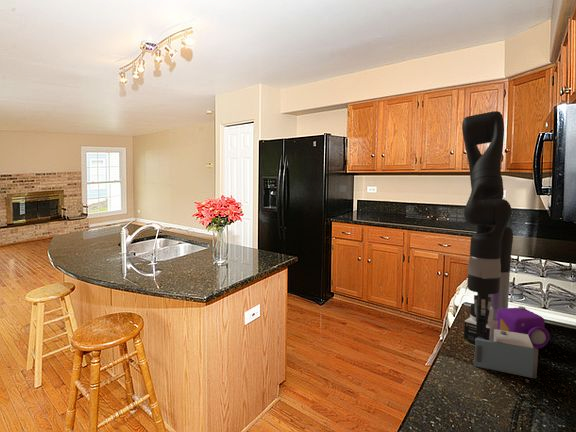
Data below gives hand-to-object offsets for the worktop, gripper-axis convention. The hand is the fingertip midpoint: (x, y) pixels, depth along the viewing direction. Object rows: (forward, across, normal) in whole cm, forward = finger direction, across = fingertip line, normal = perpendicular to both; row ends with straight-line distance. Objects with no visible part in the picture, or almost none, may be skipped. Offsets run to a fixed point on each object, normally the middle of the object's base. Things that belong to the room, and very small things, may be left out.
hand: (480, 335), depth 93 cm
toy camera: (+8, -18, +12) cm, 23 cm away
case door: (+7, +3, +5) cm, 10 cm away
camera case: (+7, -3, +8) cm, 11 cm away
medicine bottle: (+8, -13, +1) cm, 15 cm away
